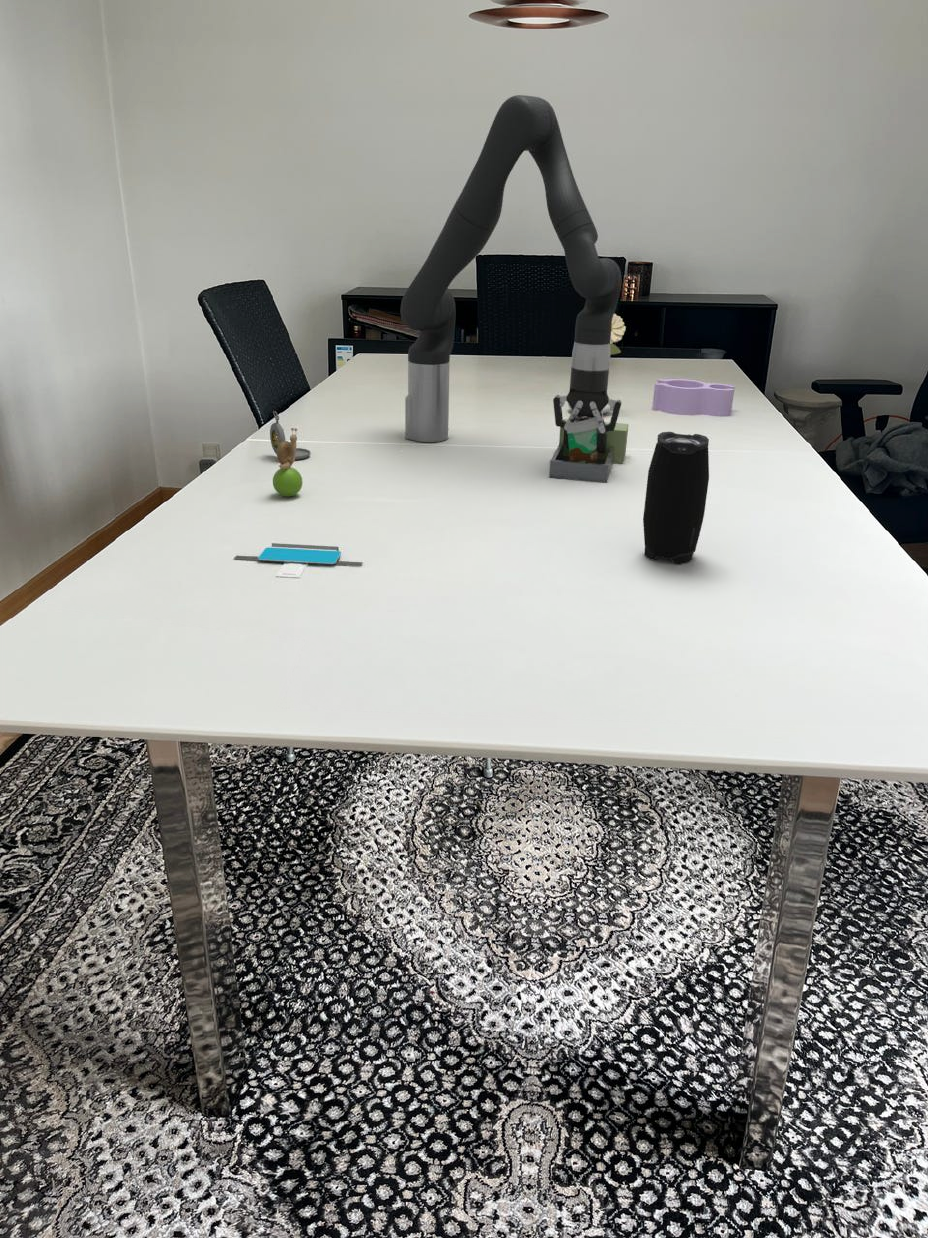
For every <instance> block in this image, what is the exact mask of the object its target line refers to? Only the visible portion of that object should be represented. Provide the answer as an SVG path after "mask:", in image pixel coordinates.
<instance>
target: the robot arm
mask: <svg viewBox="0 0 928 1238" xmlns="http://www.w3.org/2000/svg"><path fill="white" fill-rule="evenodd" d="M527 151H528V153H529V154H530V156H531V157H532V158H533V161H534V162H535V163H536V165H537V168H538V169H539V171H540V175H541V178H542V181H543V185H544V190H545V199H546V200H545V201H546V206H547V207H546V208H547V211H548V216H549V218H550V221H551V224H552V226H553V229H554V231H555V233H556V235H557V238H558V239H559V242H560V245H561V246H562V248H563V250H564V251H563V252H564V256H565V262H566V267H567V270H568V274H569V275H568V277H569V279H570V281H571V284H572V286H573V288H574V289H575V291H576V292H577V293H578V295H580V297H583V298H584V299H585V303H584V308H583V309H582V310H581V311H580V312H579V313H578V314H577V316H576V321H575V329H574V343H573V348H572V353H571V354H572V355H571V365H570V366H571V367H570V382H569V391H568V393H567V395H558V394H556V395H555V396H554V398H553V400H552V401H553V411H554V421H555V422H554V423H555V426H556V427H559V428H560V427H561V428H563V429H564V439H563V444H564V445H566V448H569V442H568V434H567V423H570V421H574V420H575V418H576V416H578V417H584V416H587V417H589V418H594V417H596V420H598V422H599V423H600V426H599V427H598V428H599V432H598V440H597V451H600V450H601V448H603V447H604V444H605V433H606V432H608V431H613V430H614V429H615V426H616V423H618V418H619V414H620V411H621V406H622V404H623V403H622V400H621V399H617V400H615V399H612V398H610V397H609V395H608V385H609V375H610V366H611V355H610V340H611V329H612V318H613V315H614V314H615V312H616V310H617V304H618V301H619V298H620V293H621V288H622V282H623V281H622V272H621V268H620V267H619V265H618V264H617V262H616V261H615V260H613V259H612V258H609V257H602V258H601V257H600V256H599V255H598V251H597V248H596V245H595V244H596V243H597V241H598V239H599V238H598V237H599V236H598V231H597V228H596V226H595V224H594V221H593V219H592V216H591V214H590V213H589V210H588V207H587V205H586V203H585V201H584V199H583V197H582V195H581V192H580V190H579V187H578V185H577V182H576V180H575V179H576V178H575V176H574V173H573V171H572V170H573V169H572V166H571V163H570V161H569V157H568V153H567V151H566V147H565V142H564V140H563V136H562V132H561V129H560V125H559V121H558V117H557V116H556V112H555V110H554V108H553V106H552V105H551V104H550V102H548V101H547V100H546V99H544V98H542V97H539V96H532V95H523V94H522V95H521V94H517V95H512V96H510V97H509V98H507V99H506V100H505V101H504V102H503V103H502V104H501V105H500V106H499V109H498V110H497V113H496V114H495V116H494V118H493V121H492V123H491V126H490V129H489V131H488V134H487V136H486V139H485V141H484V144H483V147H482V150H481V151H480V154H479V156H478V158H477V161H476V162H475V165H474V167H473V169H472V170H471V172H470V174H469V176H468V178H467V180H466V182H465V185H464V187H463V188H462V191H461V193H460V194H459V196H458V198H457V200H456V201H455V203H454V204H453V207H452V209H451V211H450V213H449V215H448V217H447V219H446V221H445V223H444V225H443V227H442V229H441V231H440V233H439V235H438V236H437V239H436V240H435V243H434V244H433V246H432V248H431V250H430V252H429V254H428V256H427V258H426V260H425V262H424V263H423V265H422V266H421V268H420V269H419V271H418V273H417V274H416V275H415V277H414V279H413V280H412V282H411V283H410V285H409V286H408V288H407V289H406V291H405V292H404V294H403V297H402V299H401V303H400V316H401V320H402V323H403V324H404V326H406V327H407V328H408V329H409V330H412V331H416V332H419V334H418V337H417V338H416V340H415V341H414V342H413V344H412V345H410V346H409V348H408V351H407V352H408V353H407V395H406V396H405V397H404V398H405V402H404V403H405V407H404V408H405V411H404V412H405V413H404V414H405V415H404V416H405V420H404V421H405V423H404V425H405V426H404V427H405V428H404V430H405V431H404V432H405V433H404V434H405V439H406V440H411V441H414V442H420V443H437V442H444V441H447V440H448V438H449V428H450V427H449V419H450V418H449V416H450V415H449V414H450V412H449V411H450V406H449V404H450V364H451V363H450V360H451V359H450V357H451V353H452V351H453V348H454V342H455V329H456V328H455V327H456V311H457V310H456V301H455V297H454V295H453V292H451V290H450V289H449V286H450V285H451V283H452V282H453V280H454V279H455V278H456V277H457V276H458V275H459V274H460V273H461V272H462V271H463V270H464V269H465V268H466V267H467V266H468V265H469V264H471V262H472V261H473V260H474V259H476V257H477V256H478V255H480V253H481V252H482V251H483V249H484V248H485V246H486V244H487V243H488V241H489V239H490V238H491V236H492V234H493V232H494V230H495V228H496V226H497V224H498V223H499V220H500V217H501V213H502V211H503V210H502V208H503V203H504V202H503V201H504V200H503V199H504V193H505V188H506V183H507V180H508V178H509V176H510V175H511V172H512V171H513V169H514V166H515V165H516V163H517V162H518V161H519V158H521V155H522V154H523V153H524V152H527ZM566 402H567V404H569V405H570V407H571V408H572V410H571V413H570V415H569V416H568V418H567V419H568V420H567V422H566V421H564V418H563V407H564V405H565V404H566ZM607 404H609V405H610V410H611V411H610V412H612V413H611V418H610V420H609V422H610V424H605V419H604V415H603V414H602V412H601V411H602V410H603V409H604V407H605V406H606V405H607ZM597 416H598V417H597Z"/></svg>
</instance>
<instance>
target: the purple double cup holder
mask: <svg viewBox="0 0 928 1238" xmlns="http://www.w3.org/2000/svg"><path fill="white" fill-rule="evenodd" d="M735 388H736V386H734V385H731V384H726V383H712V382H704V381H699V380H693V379H679V378H677V379H676V378H673V379H670V378H669V379H662V378H657V383H654V389H653V399H652V409H651V411H659V412H662V413H666V414H671V415H679V416H698V415H699V416H700V415H703V416H709V417H720V418H721V417H722V418H723V417H724V418H725V417H731V415H732V414H731V413H732V410H733V402H734V395H735Z"/></svg>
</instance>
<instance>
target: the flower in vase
mask: <svg viewBox="0 0 928 1238" xmlns="http://www.w3.org/2000/svg"><path fill="white" fill-rule="evenodd" d="M626 328H627V326H625V322H624V321H623V318H621V316H619V315H617V314H616V313H614V315H613V318H612V329H611V340H610V356H611V355H617V354H620V353H621V352H622V351H621V350H620V348H619V347H618V346H616V345H615V344H614V343H618V342H619V341H621V340H622V339H623V336H624V334H625V332H626ZM567 404H568V403H567ZM567 406H568V408H569V409H570V410H571V411H573V410H572V408H571V407H570V405H569V404H568V405H567ZM601 412H602V415H603V414H607V413H608V412H612V411H611V410H610V405H609V404H607V405H606V406H605V407H604V409H603V410H602V411H601Z"/></svg>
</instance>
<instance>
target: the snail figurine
mask: <svg viewBox="0 0 928 1238" xmlns="http://www.w3.org/2000/svg"><path fill="white" fill-rule="evenodd" d="M290 430H291V431H292V434H291V435H290V436H289V440H290V441H288V440H286V441H283V442H281V443H280V445H279V447H278V449H277V454H276V458H277V461H278V463H279V466H278V467H279V469H277V470H276V471H275V473H274V475H273V477H272V486H273V488H274V490H275V491H276V493H277V494H279V495H280V496H283V497H287V498H288V497H293V496H295V495H297V494H298V493H299V492H300V491H301V489H302V488H303V478H302V475H301V473H300V472H299V471H298V470H297V469H295V468H294V467H292V465H293V463H295V460H296V459H295V456H296V448H297V440H298V438H297V434H295V433H293V432H294V431H295V432H297V431H298V428H297V427H295V428H294V427H291V428H290Z"/></svg>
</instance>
